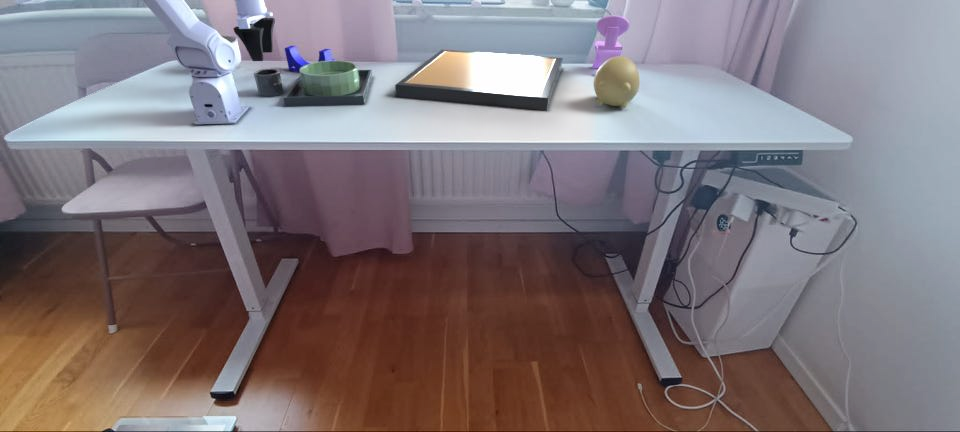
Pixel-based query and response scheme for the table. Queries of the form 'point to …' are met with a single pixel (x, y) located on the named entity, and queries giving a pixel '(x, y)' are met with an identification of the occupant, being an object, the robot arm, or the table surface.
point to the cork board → (484, 79)
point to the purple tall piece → (609, 38)
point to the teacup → (235, 44)
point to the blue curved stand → (297, 61)
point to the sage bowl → (330, 78)
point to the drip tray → (302, 99)
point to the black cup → (269, 82)
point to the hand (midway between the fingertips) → (263, 56)
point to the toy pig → (616, 82)
